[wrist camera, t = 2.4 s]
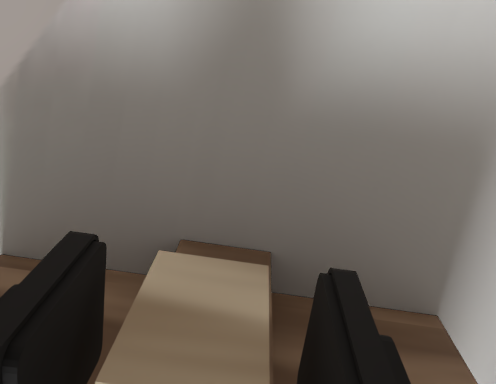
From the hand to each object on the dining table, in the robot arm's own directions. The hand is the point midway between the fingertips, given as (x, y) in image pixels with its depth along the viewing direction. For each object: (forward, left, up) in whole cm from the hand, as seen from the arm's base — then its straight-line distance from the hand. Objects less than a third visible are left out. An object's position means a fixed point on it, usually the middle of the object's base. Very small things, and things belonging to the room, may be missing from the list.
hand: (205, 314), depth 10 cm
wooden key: (-3, 0, 0) cm, 3 cm away
